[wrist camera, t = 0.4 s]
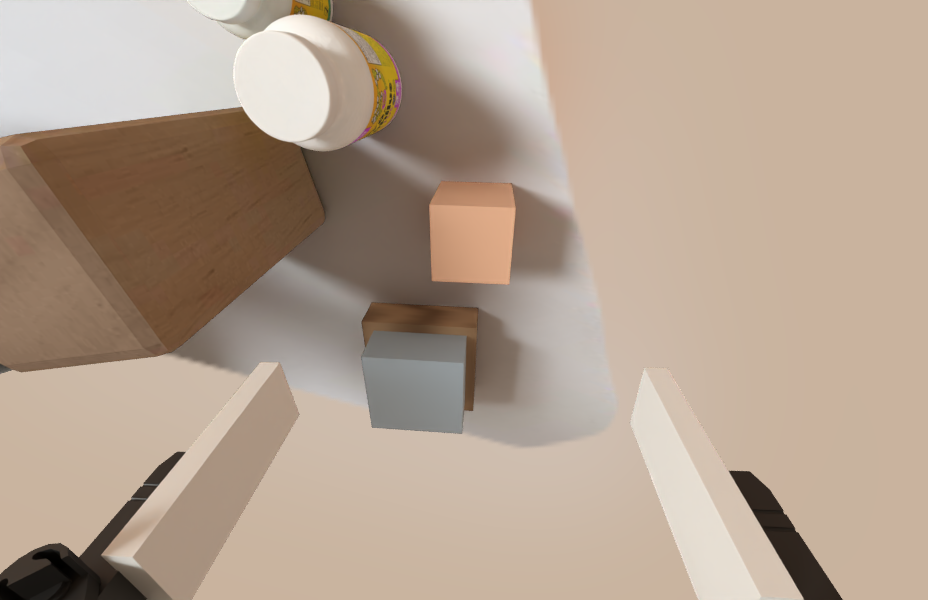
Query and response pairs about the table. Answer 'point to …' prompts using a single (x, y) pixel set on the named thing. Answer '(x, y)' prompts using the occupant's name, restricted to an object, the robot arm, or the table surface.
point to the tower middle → (415, 381)
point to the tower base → (429, 329)
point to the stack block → (472, 232)
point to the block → (140, 232)
